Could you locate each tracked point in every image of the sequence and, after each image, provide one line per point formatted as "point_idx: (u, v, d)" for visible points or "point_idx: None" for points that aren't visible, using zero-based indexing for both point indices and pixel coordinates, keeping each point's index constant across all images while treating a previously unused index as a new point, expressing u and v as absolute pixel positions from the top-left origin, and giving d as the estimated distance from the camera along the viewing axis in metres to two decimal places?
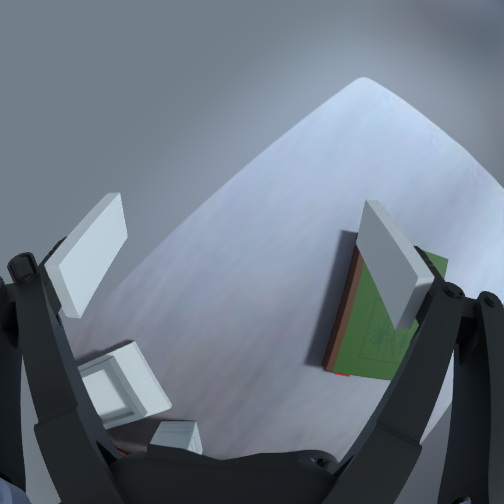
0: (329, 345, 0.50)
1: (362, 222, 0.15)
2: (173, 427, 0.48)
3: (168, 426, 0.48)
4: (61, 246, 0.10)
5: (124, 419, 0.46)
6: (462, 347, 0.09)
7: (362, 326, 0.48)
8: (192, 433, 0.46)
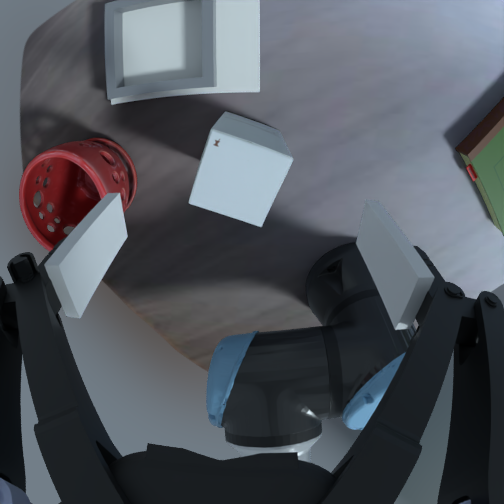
0: (474, 134, 0.32)
1: (362, 222, 0.15)
2: (248, 121, 0.32)
3: (241, 118, 0.32)
4: (61, 246, 0.10)
5: (176, 81, 0.28)
6: (461, 347, 0.09)
7: None
8: (282, 138, 0.31)
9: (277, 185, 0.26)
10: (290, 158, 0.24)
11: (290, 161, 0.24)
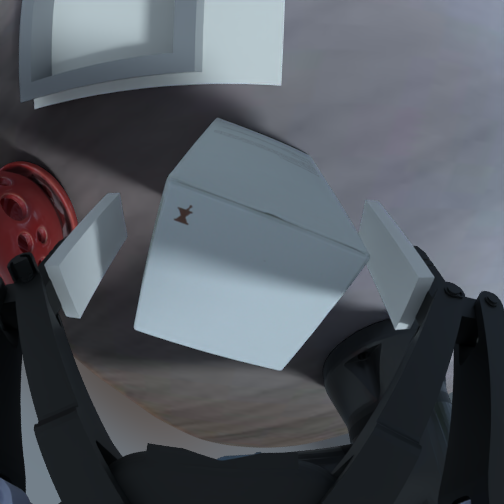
0: None
1: (362, 222, 0.15)
2: (259, 139, 0.17)
3: (245, 133, 0.17)
4: (61, 246, 0.10)
5: (124, 63, 0.13)
6: (461, 347, 0.09)
7: None
8: (323, 178, 0.17)
9: (325, 309, 0.11)
10: (365, 256, 0.10)
11: (363, 262, 0.10)
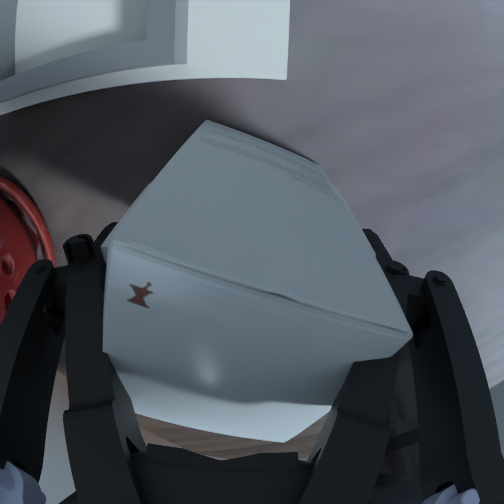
0: None
1: None
2: (258, 147, 0.14)
3: (240, 139, 0.14)
4: None
5: (88, 56, 0.10)
6: (415, 329, 0.10)
7: None
8: (340, 199, 0.13)
9: None
10: (406, 335, 0.07)
11: (403, 343, 0.07)
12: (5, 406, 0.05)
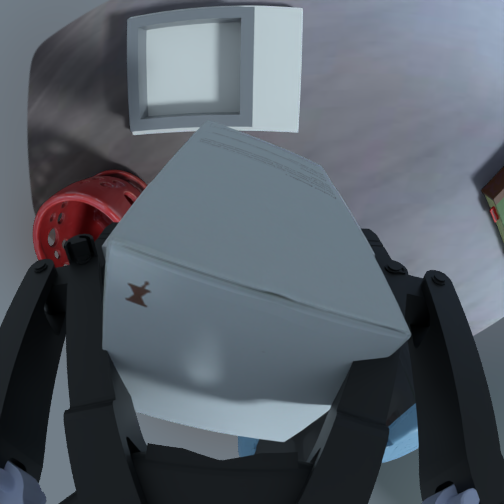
0: (500, 176, 0.31)
1: None
2: (259, 148, 0.14)
3: (241, 140, 0.14)
4: None
5: (210, 118, 0.27)
6: (414, 329, 0.10)
7: None
8: (340, 199, 0.13)
9: None
10: (404, 335, 0.07)
11: (401, 343, 0.07)
12: (5, 406, 0.05)
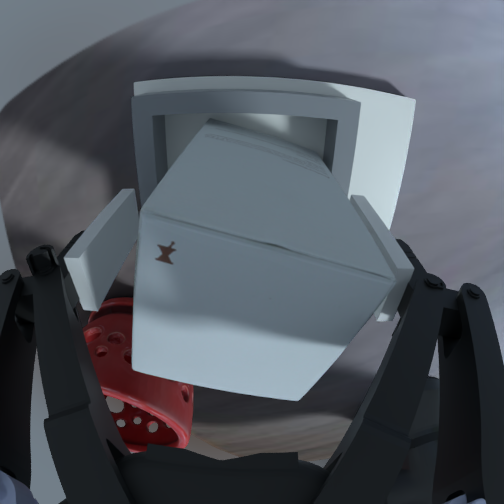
0: None
1: None
2: (258, 139, 0.15)
3: (242, 133, 0.15)
4: (80, 239, 0.11)
5: None
6: (446, 340, 0.10)
7: None
8: (333, 178, 0.14)
9: (345, 341, 0.09)
10: (390, 281, 0.08)
11: (389, 289, 0.08)
12: None
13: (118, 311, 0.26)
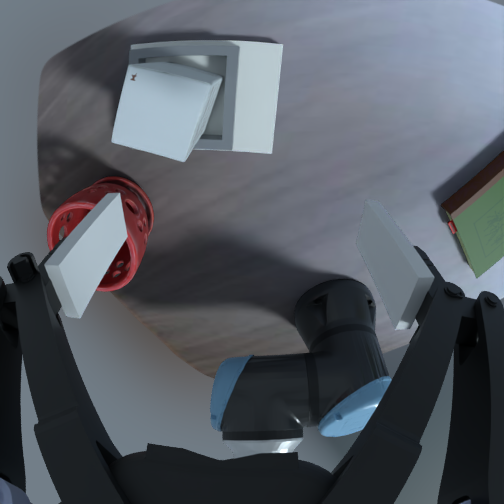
0: (460, 193, 0.39)
1: (362, 222, 0.15)
2: (187, 66, 0.28)
3: (180, 64, 0.28)
4: (61, 246, 0.10)
5: (197, 141, 0.33)
6: (462, 347, 0.09)
7: (494, 200, 0.37)
8: (219, 78, 0.27)
9: (196, 114, 0.22)
10: (208, 84, 0.21)
11: (208, 88, 0.21)
12: None
13: None
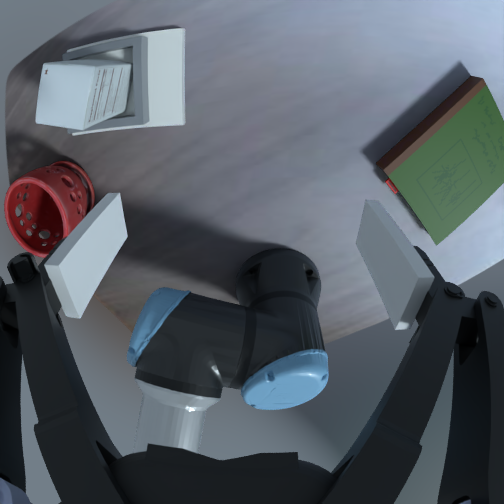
0: (396, 148, 0.40)
1: (362, 222, 0.15)
2: (103, 60, 0.30)
3: (98, 59, 0.30)
4: (61, 246, 0.10)
5: (116, 120, 0.35)
6: (462, 347, 0.09)
7: (437, 153, 0.37)
8: (123, 64, 0.29)
9: (87, 91, 0.24)
10: (93, 67, 0.23)
11: (93, 69, 0.23)
12: None
13: None
